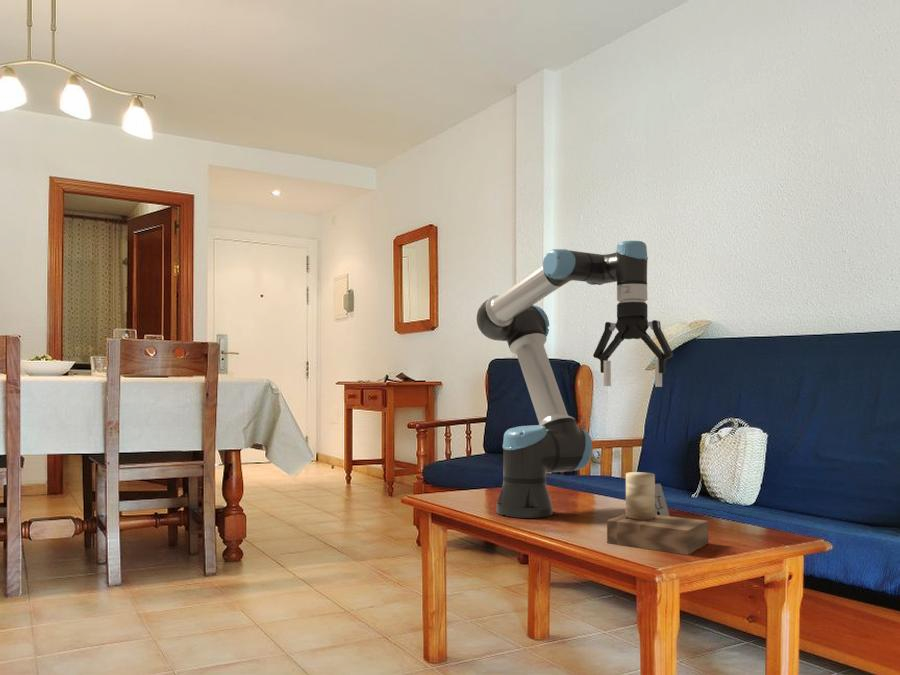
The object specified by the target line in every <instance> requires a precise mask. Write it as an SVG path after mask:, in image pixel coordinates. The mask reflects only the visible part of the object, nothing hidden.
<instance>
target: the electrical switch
mask: <svg viewBox="0 0 900 675" xmlns="http://www.w3.org/2000/svg"><path fill="white" fill-rule="evenodd" d="M663 490H664V489H663V486H662V485H661V483H655V515H664V516H670V511H669V508H668V505H667V502H666V498H665V493H664V491H663Z"/></svg>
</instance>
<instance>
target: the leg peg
mask: <svg viewBox="0 0 900 675" xmlns="http://www.w3.org/2000/svg"><path fill="white" fill-rule="evenodd" d="M655 484H656V474H655V473H653V472H645V471H643V472H642V471H641V472H640V471H631V472H629V471H627V472H625V514H626V518H627V519H629V520H635V521H647V522H648V521H653V520H655Z"/></svg>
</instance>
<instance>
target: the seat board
mask: <svg viewBox="0 0 900 675" xmlns="http://www.w3.org/2000/svg"><path fill="white" fill-rule="evenodd" d="M606 520H607V521H606V543H607V544H610V545H611V544H612V545H618V546H625V547H632V548H637V549H638V548H639V549H646V550H651V551H659V552H664V553H671V554H672V553H673V554H680V555H684V556H685V555H686V556H688V555H690V554H693V553H694V552H696V551H697V549H698V550H700V549H701V548H703V547H705V546H707V545H708V544H709V521H708V520H705V519H696V518H689V517H688V518H687V517H679V516H664V515H655V520H653V521H648V522H647V521H635V520H629V519H627V518H626V513H623V514H621V515H618V516H615V517H612V518H610V519H606ZM706 544H707V545H706Z"/></svg>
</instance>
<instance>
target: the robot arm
mask: <svg viewBox="0 0 900 675" xmlns="http://www.w3.org/2000/svg"><path fill="white" fill-rule="evenodd" d="M647 248H648V247H647V243H645V241H642V240H641V241H640V240H623V241H620V242H618V243H617V244H616V250H615V252H613V253H607V254H602V253H601V254H599V253H592V252H584V251H583V252H582V251H577V250H570V249H565V248H560V249H559V248H555V249H553V248H552V249H550V250H549V251H547V253H545V254H546V255H545V256H544V257H543V260H542V265H541V266H539V267H538V268H536V269H535V270H534V271H532V272H530V273H529V274H528V275H526V276H525V277H523V278H522V279H521V280H519V281H518V282H516V283H515V284H514V285H512V286H511V287H510V288H508V289H506V290H505V291H504V292H501V294H500V295H492V296H490V297H489V298H488V299H486V300H485V301H484V302H483V303H482V304H480V307H479V308H478V310H477V313H476V324H477V328H478V329H479V331H480V332H481V334H482V335H483V336H484V337H486V338H488V339H490V340H493V341H498V342H499V341H502V342H507V345H508V348H509V350H510V352H511V353H513V354H515V355H516V357H517V360H518V363H519V365H520V369H521V372H522V376H523V378H524V381H525V383H526V387H527V390H528V391H527V392H528V393H529V394H528V395H529V396H530V399H531V403H532V406H533V409H534V411H535V415H536V419H537V422H538V424H537V425H536V424H535V425H534V424H532V425H521V426H515V427H511V428H508V429H507V430H506V431H504V434H503V442H502V450H503V452H502V453H503V454H502V459H503V461H502V472H503V473H502V479H503V480H502V486H501V489H500V493H499V495H498V499H497V502H496V513H497V514H498V515H499V516H503V515H505V517H509V516H510V518H517V519H518V518H520V519H534V518H535V519H538V518H546V517H550V516H552V515H553V508H554V506H553V503H552V500H551V497H550V494H549V491H548V487H547V474H548V473H563V472H568V473H570V472H573V471H579V470H582V469H583V468H585V467H586V466H587V465H588V464H589V462H590V460H591V456H592V454H593V442H592V437H591V436H590V434H589V432H588V431H587V430H585V429H583V428H579V427H578V424H577V422H576V418H574V417H573V416H570V415H569V414H568V412H567V409H566V406H565V403H564V401H563V397H562V395H561V392H560V391H561V390H560V389H559V386H558V383H557V381H556V377H555V374H554V370H553V369H552V365H551V363H550V360H549V357H548V353H547V351H546V349H545V344H546V342H547V337H548V335H549V331H550V329H549V327H550V321H549V317H548V315H547V314H546V311H544V310H543V308H541V307H540V306H538V305H535V304H537V303H538V302H539V301H541V300H543V299H544V298H546V297H547V296H549V295H551V294H552V293H553V292H555V291H557V290H558V289H559V288H561V287H562V286H564V285H566V284H568V283H569V282H572V281H575V282H584V283H586V284H588V285H591V286H592V285H593V286H594V285H596V286H597V285H599V286H601V285H604V284H610V283H611V284H612V283H615V282H616V301H617V302H618V303H617V304H616V323H615V322H611V321H606V322H605V323H604V330H603V333H602V335H601V337H600V339H599V341H598V344H597V346H596V349H595V350H594V352H593V355H592V356H593V358H594V359H598V360H599V362H600V365H599V366H600V373H601V374H603V387H611V386H612V381H611V380H612V379H611V378H612V377H611V374H612V372H611V371H612V362H611V360H609V359H610V357H611V356H612V355H613V353H614V352H616V349H617V348H618V347H619V345H620V344H621V343H622V342H623V341H624V340H641V341H643V342H644V343H645V345H646V346H647V347H648V348H649V349H650V351H651V352H652V353H653V354H654V355H655V357H656V358H657V360H656V359H655V360H654V381H655V382H654V387H656V388H657V387H659V388H662V387H663V374H665V373H666V372H667V368H666V367H667V366H666V365H667V364H666V362H667V360H668V359H670V358H673V357H674V353H673V351H672V348H671V346H670V345H669V343H668V341H667V338H666V337H665V335H664V333H663V331H662V330H663V329H662V328H661V325H662V324H661V321H660V320H656V319H653V320H651V321H649V320H648V304H647V301H648V260H649V257H648V249H647ZM649 328H650V330H652V331H653V334H654V335H655V338H656V340H657V342H658V344H659V346H660V348H661V349H660V348H659V346H658V345H657V344H656V342H654V341H653V339H652V338H651V336H650V334H648V332H647V330H648V329H649ZM615 329H616V330H617V331H618V332H617V333H616V334H615V336H614V338H613V339H612V341H611V342H610V343H609V341H610V339H611V336H612V334H613V332H614V331H615ZM661 329H662V330H661ZM608 343H609V344H608ZM607 345H608V346H607Z"/></svg>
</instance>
